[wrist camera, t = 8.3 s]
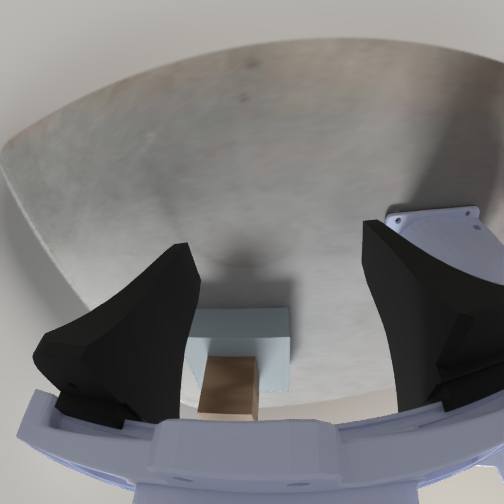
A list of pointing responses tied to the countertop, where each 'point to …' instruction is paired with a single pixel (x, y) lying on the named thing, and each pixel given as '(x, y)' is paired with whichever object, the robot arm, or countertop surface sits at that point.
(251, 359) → the walnut block
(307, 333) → the countertop surface
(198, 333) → the slate block
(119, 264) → the countertop surface
